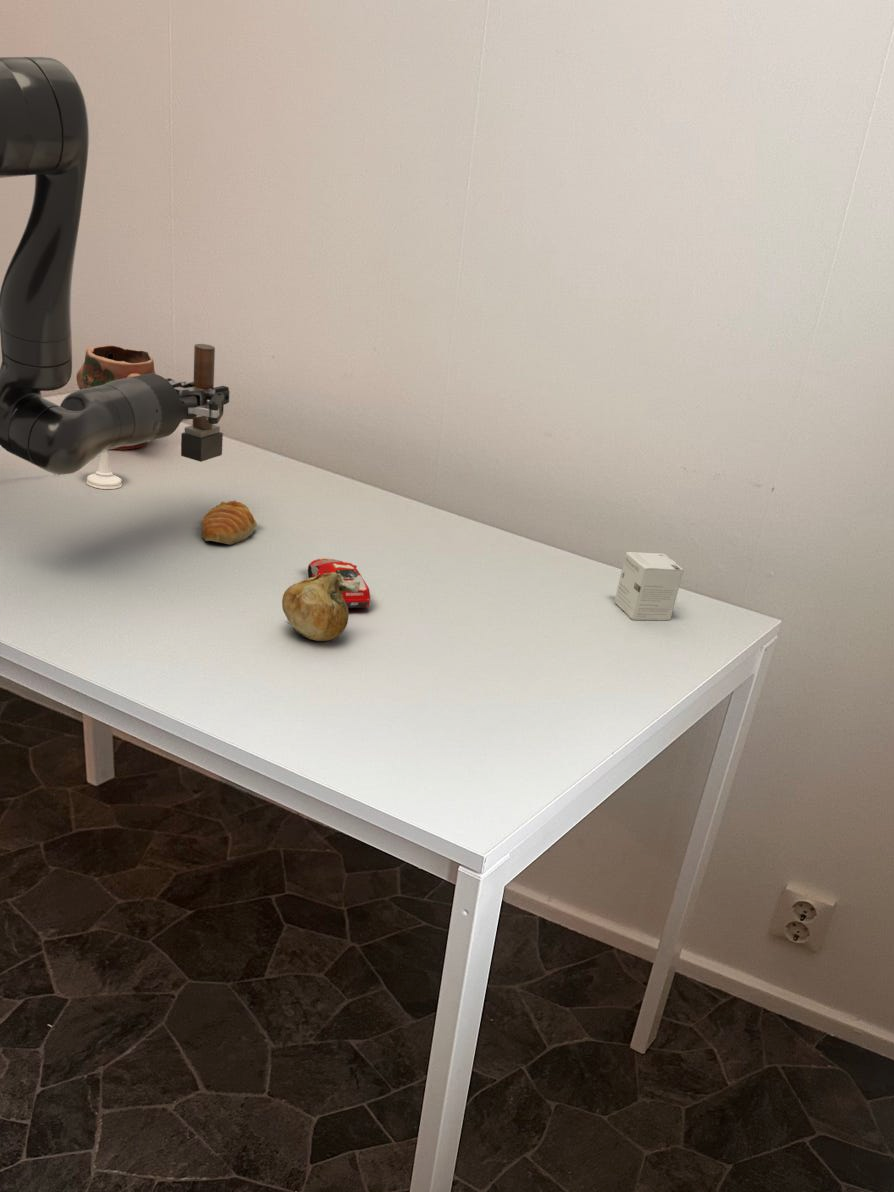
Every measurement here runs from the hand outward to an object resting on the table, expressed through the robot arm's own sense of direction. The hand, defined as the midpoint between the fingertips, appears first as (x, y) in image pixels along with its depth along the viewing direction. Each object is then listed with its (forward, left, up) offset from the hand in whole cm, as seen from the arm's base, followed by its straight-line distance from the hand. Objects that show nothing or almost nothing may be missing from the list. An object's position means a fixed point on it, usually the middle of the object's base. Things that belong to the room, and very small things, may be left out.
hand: (215, 391), depth 158 cm
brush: (-3, -1, -8) cm, 9 cm away
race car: (-3, -30, -17) cm, 35 cm away
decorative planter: (+6, +33, -17) cm, 38 cm away
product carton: (+32, -53, -17) cm, 64 cm away
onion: (-14, -39, -17) cm, 45 cm away
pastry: (-3, -7, -17) cm, 19 cm away
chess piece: (-7, +17, -17) cm, 25 cm away
